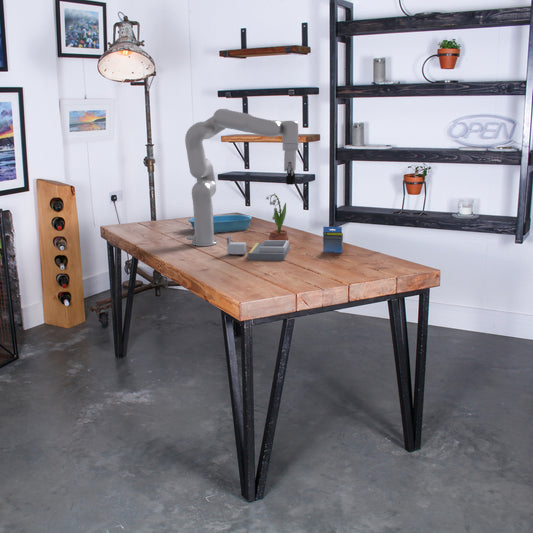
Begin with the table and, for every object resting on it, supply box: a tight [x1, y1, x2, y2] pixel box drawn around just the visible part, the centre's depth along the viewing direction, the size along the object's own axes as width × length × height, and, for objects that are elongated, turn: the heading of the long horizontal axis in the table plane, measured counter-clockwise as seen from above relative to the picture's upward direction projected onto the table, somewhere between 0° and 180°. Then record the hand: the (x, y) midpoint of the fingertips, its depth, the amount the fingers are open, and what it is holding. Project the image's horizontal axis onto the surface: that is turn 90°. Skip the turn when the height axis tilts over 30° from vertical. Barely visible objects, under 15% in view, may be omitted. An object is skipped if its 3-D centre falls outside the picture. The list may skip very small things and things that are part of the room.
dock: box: [247, 239, 290, 261], centre depth 296 cm, size 16×24×5 cm, turn 172°
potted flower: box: [265, 193, 289, 241], centre depth 321 cm, size 12×10×25 cm
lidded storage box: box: [226, 235, 247, 257], centre depth 296 cm, size 8×5×8 cm, turn 82°
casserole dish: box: [188, 214, 253, 234], centre depth 361 cm, size 37×22×7 cm, turn 115°
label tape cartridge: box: [322, 226, 344, 254], centre depth 298 cm, size 9×4×12 cm, turn 74°
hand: (290, 183), depth 309 cm, fingers open, 9 cm apart
